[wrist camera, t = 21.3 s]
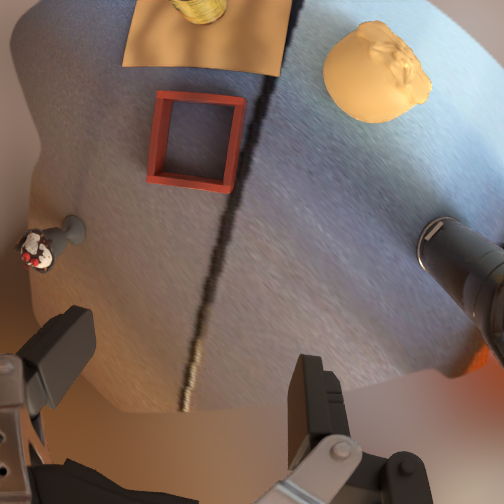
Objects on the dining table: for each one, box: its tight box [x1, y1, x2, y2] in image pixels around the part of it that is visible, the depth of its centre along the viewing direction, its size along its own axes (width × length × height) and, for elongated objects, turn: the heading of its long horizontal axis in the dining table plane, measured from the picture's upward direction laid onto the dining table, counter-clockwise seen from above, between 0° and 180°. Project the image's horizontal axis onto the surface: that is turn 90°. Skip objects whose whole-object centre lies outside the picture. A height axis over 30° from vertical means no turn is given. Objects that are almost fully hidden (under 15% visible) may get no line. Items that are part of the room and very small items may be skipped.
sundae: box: [15, 216, 85, 273], centre depth 39 cm, size 7×7×15 cm
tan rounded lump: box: [323, 21, 432, 123], centre depth 30 cm, size 11×12×11 cm
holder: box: [146, 90, 247, 194], centre depth 38 cm, size 11×12×4 cm
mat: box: [122, 0, 292, 77], centre depth 33 cm, size 22×16×1 cm
